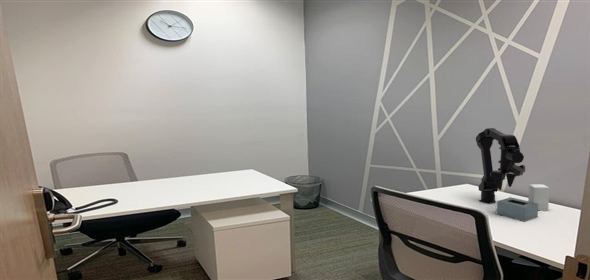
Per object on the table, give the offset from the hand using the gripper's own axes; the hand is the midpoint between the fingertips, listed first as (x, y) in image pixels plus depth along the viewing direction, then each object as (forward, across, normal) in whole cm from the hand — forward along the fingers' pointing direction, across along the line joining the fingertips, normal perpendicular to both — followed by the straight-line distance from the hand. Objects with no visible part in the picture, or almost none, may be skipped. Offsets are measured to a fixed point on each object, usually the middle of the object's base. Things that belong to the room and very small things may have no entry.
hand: (505, 188), depth 200 cm
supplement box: (+13, +18, -8) cm, 24 cm away
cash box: (+12, -2, -8) cm, 15 cm away
